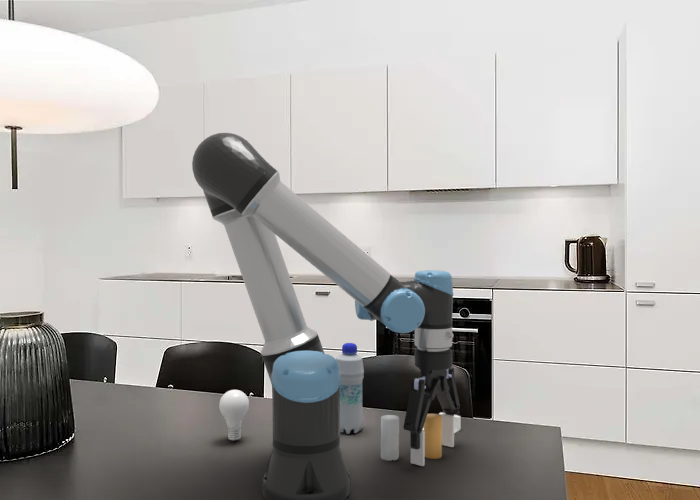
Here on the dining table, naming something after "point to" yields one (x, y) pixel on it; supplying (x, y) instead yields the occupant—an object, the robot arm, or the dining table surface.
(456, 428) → the rack
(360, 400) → the bottle
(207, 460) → the dining table surface
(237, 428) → the lightbulb
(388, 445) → the grey plug
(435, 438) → the orange plug
